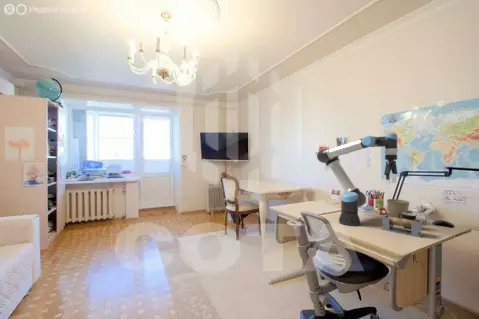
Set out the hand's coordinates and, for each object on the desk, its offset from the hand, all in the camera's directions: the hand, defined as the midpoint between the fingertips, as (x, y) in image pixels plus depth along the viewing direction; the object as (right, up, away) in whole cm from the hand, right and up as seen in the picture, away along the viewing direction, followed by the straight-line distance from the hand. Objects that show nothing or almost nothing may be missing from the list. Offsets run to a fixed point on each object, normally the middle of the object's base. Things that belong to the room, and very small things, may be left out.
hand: (391, 183), depth 171 cm
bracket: (0, -32, -12) cm, 34 cm away
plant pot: (+15, -32, +15) cm, 38 cm away
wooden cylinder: (0, -28, -12) cm, 30 cm away
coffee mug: (+11, -32, -2) cm, 34 cm away
